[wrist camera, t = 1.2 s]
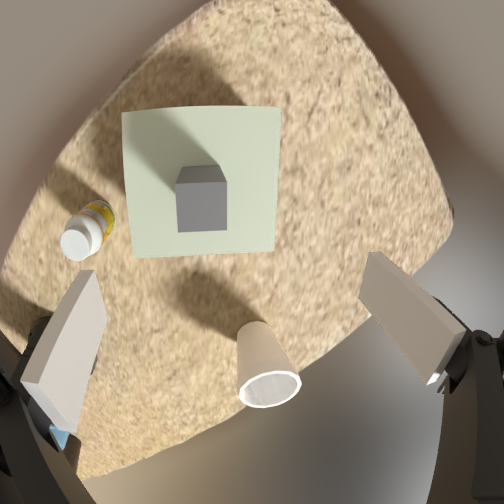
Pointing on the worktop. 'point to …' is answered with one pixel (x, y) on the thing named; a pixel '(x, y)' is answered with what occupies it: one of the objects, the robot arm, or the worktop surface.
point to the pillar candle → (72, 451)
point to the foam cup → (263, 367)
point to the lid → (201, 179)
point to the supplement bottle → (87, 230)
